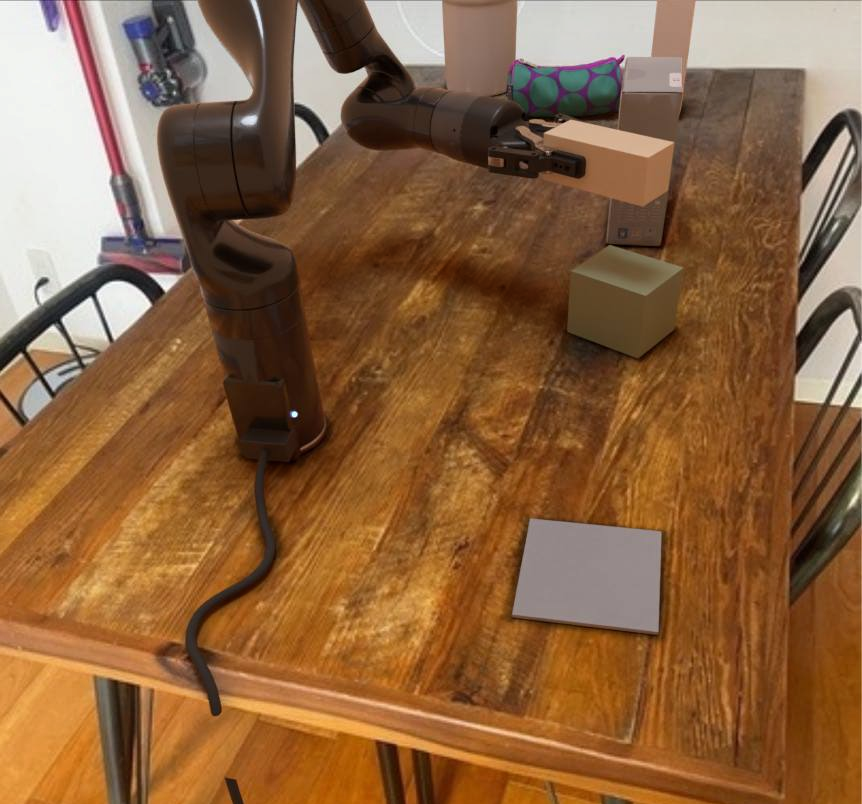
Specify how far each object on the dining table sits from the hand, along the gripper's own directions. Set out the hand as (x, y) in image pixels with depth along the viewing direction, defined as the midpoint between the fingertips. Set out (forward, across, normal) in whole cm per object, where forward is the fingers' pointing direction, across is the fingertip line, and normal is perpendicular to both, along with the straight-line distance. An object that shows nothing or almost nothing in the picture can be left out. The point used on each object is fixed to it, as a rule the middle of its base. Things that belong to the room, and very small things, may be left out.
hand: (598, 159), depth 92 cm
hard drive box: (-10, +26, +19) cm, 34 cm away
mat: (+25, -36, +20) cm, 48 cm away
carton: (+1, 0, 0) cm, 1 cm away
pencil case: (-45, +58, +19) cm, 76 cm away
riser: (+5, 0, +19) cm, 20 cm away
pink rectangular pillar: (-30, +68, +19) cm, 77 cm away
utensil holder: (-69, +63, +19) cm, 95 cm away
